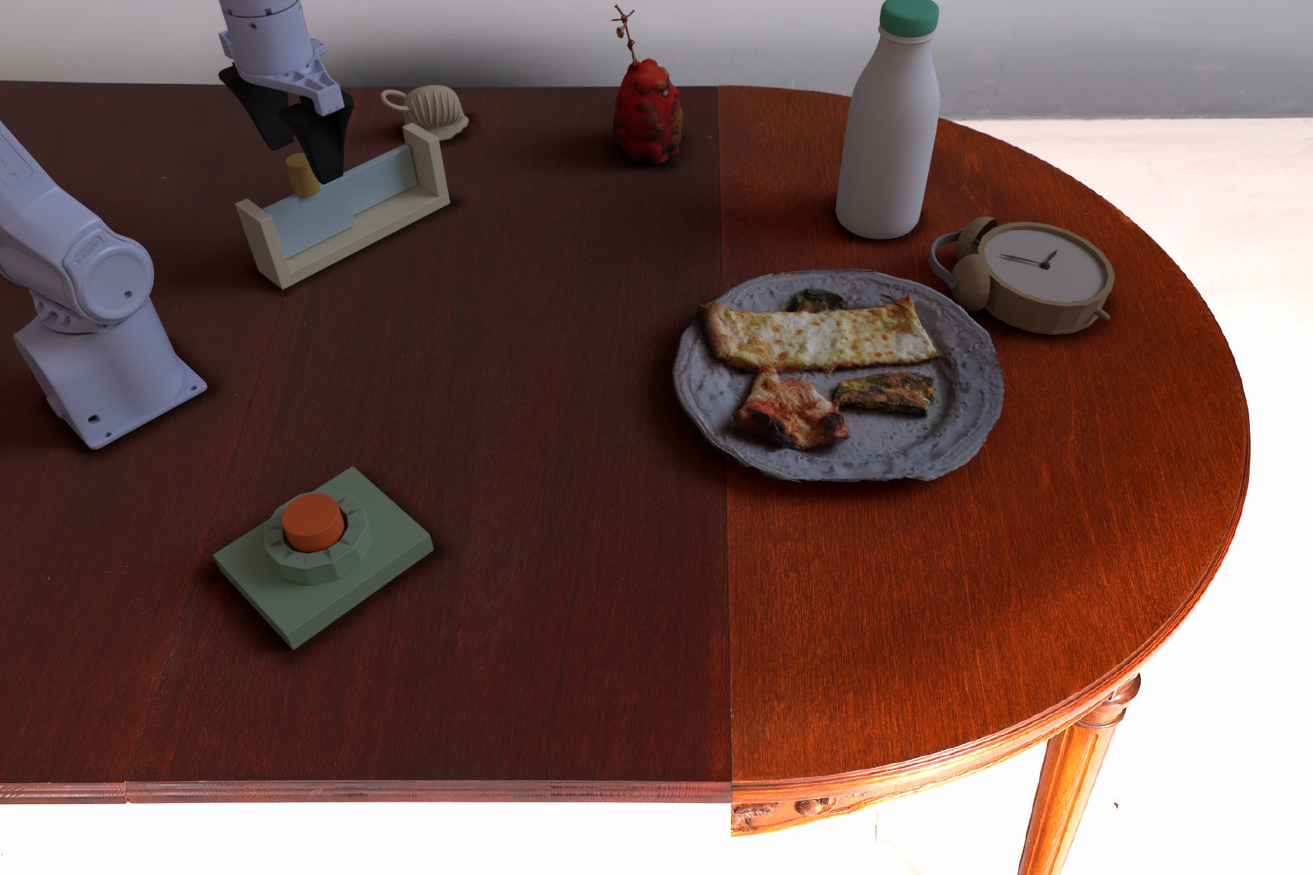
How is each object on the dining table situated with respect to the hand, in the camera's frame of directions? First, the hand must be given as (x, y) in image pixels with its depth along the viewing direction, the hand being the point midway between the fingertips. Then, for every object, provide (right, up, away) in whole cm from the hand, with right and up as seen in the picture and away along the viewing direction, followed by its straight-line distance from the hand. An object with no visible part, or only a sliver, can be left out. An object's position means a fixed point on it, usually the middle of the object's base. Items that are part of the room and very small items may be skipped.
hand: (306, 162), depth 88 cm
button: (+7, -29, -20) cm, 36 cm away
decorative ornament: (+6, +9, +21) cm, 24 cm away
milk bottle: (+50, -3, +9) cm, 51 cm away
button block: (+7, -31, -18) cm, 37 cm away
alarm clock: (+60, -11, +2) cm, 61 cm away
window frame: (+2, -5, +8) cm, 10 cm away
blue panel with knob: (-1, -6, +5) cm, 8 cm away
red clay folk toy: (+29, +6, +18) cm, 35 cm away
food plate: (+43, -19, -6) cm, 48 cm away
